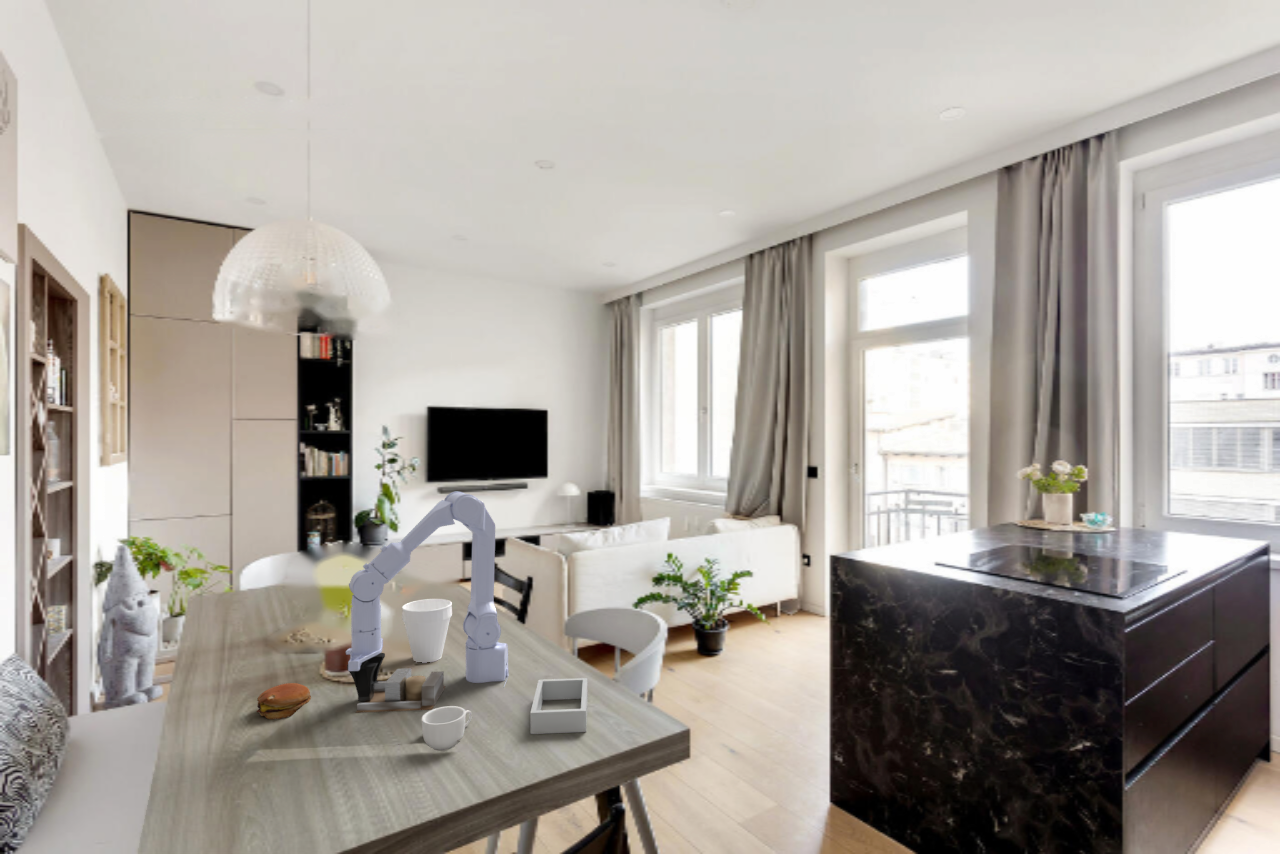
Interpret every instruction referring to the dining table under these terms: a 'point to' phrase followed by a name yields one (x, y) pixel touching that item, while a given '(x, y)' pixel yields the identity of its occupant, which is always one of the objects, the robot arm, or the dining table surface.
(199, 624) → the dining table surface
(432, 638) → the white plant pot
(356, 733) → the dining table surface
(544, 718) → the box
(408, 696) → the nut
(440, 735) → the teacup
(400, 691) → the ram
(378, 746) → the dining table surface
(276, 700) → the burger
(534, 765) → the dining table surface
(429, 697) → the bench
